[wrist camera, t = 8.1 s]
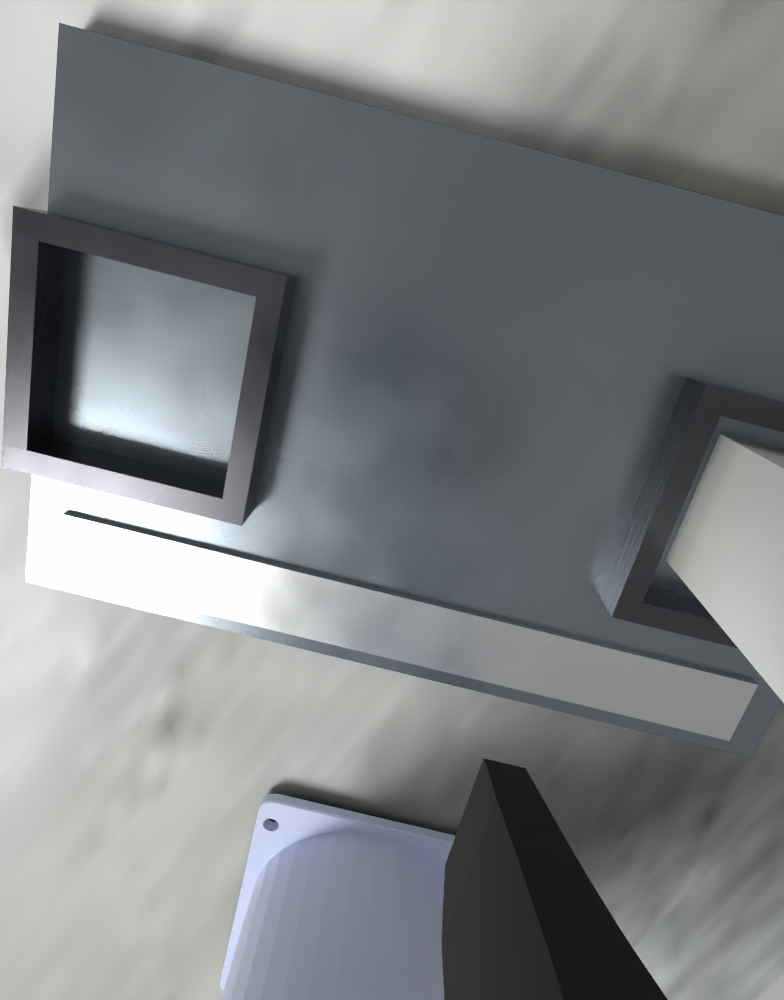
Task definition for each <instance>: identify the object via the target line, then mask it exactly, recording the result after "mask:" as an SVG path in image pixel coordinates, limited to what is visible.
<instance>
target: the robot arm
mask: <svg viewBox="0 0 784 1000" xmlns="http://www.w3.org/2000/svg"><path fill="white" fill-rule="evenodd" d="M268 819H274V820H276V821H277V822H272V821H270V820H268ZM220 987H221V988H222V990H223V995H222V998H221V1000H667V998H666V997H665V995H664V994H663V992H662V991H661V989H660V988H659V986H658V985H657V983H656V982H655V981H654V979H653V978H652V976H651V975H650V973H649V972H648V970H647V969H646V967H645V966H644V964H643V963H642V961H641V960H640V958H639V957H638V956H637V954H636V953H635V951H634V950H633V948H632V947H631V945H630V944H629V942H628V940H627V939H626V937H625V936H624V934H623V933H622V931H621V930H620V928H619V927H618V925H617V923H616V922H615V920H614V919H613V917H612V915H611V914H610V912H609V910H608V909H607V907H606V906H605V904H604V902H603V901H602V899H601V897H600V896H599V894H598V893H597V891H596V889H595V888H594V886H593V884H592V883H591V881H590V880H589V878H588V876H587V875H586V873H585V871H584V870H583V868H582V866H581V864H580V863H579V861H578V859H577V858H576V856H575V854H574V853H573V851H572V849H571V847H570V846H569V844H568V842H567V840H566V839H565V837H564V835H563V833H562V832H561V830H560V828H559V826H558V825H557V823H556V821H555V819H554V818H553V816H552V814H551V812H550V811H549V809H548V807H547V805H546V804H545V802H544V800H543V798H542V796H541V795H540V793H539V791H538V789H537V788H536V786H535V784H534V783H533V781H532V779H531V777H530V776H529V774H528V772H527V770H526V769H525V768H522V767H517V766H513V765H509V764H505V763H501V762H496V761H492V760H488V759H483V761H482V764H481V767H480V770H479V773H478V775H477V778H476V781H475V784H474V786H473V789H472V792H471V795H470V797H469V800H468V803H467V806H466V808H465V811H464V814H463V817H462V820H461V822H460V825H459V828H458V831H457V833H456V836H455V835H451V834H447V833H442V832H438V831H434V830H430V829H425V828H421V827H417V826H413V825H408V824H404V823H400V822H396V821H391V820H387V819H383V818H379V817H374V816H370V815H366V814H362V813H357V812H353V811H349V810H345V809H340V808H336V807H332V806H328V805H323V804H319V803H315V802H311V801H306V800H302V799H298V798H294V797H289V796H285V795H281V794H269V795H267V796H265V797H264V798H263V800H262V802H261V804H260V808H259V811H258V816H257V820H256V825H255V829H254V834H253V838H252V843H251V847H250V852H249V856H248V860H247V865H246V869H245V874H244V878H243V883H242V887H241V892H240V896H239V900H238V905H237V909H236V914H235V918H234V923H233V927H232V932H231V936H230V940H229V945H228V949H227V954H226V958H225V963H224V967H223V972H222V976H221V981H220Z"/></svg>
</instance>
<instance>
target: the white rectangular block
mask: <svg viewBox="0 0 784 1000" xmlns="http://www.w3.org/2000/svg"><path fill="white" fill-rule="evenodd" d="M666 561H667V562H668V564H669V565H670V566H671V567H672V569H673V570H674V571H675V572H676V573H677V575H678V576H679V577H680V578H681V579H682V581H683V582H684V583H685V584H686V585H687V587H688V588H689V589H690V590H691V592H692V593H693V594H694V595H695V596H696V598H697V599H698V600H699V601H700V602H701V604H702V605H703V606H704V607H705V608H706V610H707V611H708V612H709V613H710V615H711V616H712V617H713V618H714V619H715V621H716V622H717V623H718V624H719V625H720V627H721V628H722V629H723V630H724V631H725V633H726V634H727V635H728V636H729V638H730V639H731V640H732V641H733V642H734V644H735V645H736V646H737V647H738V648H739V650H740V651H741V652H742V653H743V655H744V656H745V657H746V658H747V659H748V661H749V662H750V663H751V664H752V665H753V667H754V668H755V669H756V670H757V671H758V673H759V674H760V675H761V676H762V678H763V679H764V680H765V681H766V682H767V684H768V685H769V686H770V687H771V688H772V690H773V691H774V692H775V693H776V694H777V696H778V697H779V698H780V699H781V701H782V702H783V703H784V450H780V449H776V448H772V447H769V446H765V445H761V444H757V443H753V442H749V441H746V440H742V439H738V438H734V437H730V436H727V435H723V434H720V435H719V438H718V440H717V442H716V445H715V447H714V449H713V451H712V454H711V456H710V458H709V461H708V463H707V465H706V468H705V470H704V472H703V475H702V477H701V479H700V482H699V484H698V486H697V489H696V491H695V493H694V496H693V498H692V500H691V502H690V505H689V507H688V509H687V512H686V514H685V516H684V519H683V521H682V523H681V526H680V528H679V530H678V533H677V535H676V537H675V540H674V542H673V544H672V546H671V549H670V551H669V553H668V556H667V558H666Z"/></svg>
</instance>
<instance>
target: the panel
mask: <svg viewBox="0 0 784 1000" xmlns="http://www.w3.org/2000/svg"><path fill="white" fill-rule="evenodd" d="M720 434H723V435H727V436H730V437H734V438H738V439H742V440H746V441H749V442H753V443H757V444H761V445H765V446H769V447H772V448H776V449H780V450H784V216H782V215H778V214H774V213H771V212H767V211H763V210H759V209H756V208H752V207H748V206H744V205H741V204H737V203H733V202H729V201H726V200H722V199H718V198H714V197H710V196H707V195H703V194H699V193H695V192H692V191H688V190H684V189H680V188H677V187H673V186H669V185H665V184H662V183H658V182H654V181H650V180H647V179H643V178H639V177H635V176H632V175H628V174H624V173H620V172H617V171H613V170H609V169H605V168H602V167H598V166H594V165H590V164H587V163H583V162H579V161H575V160H572V159H568V158H564V157H560V156H557V155H553V154H549V153H545V152H542V151H538V150H534V149H530V148H527V147H523V146H519V145H515V144H512V143H508V142H504V141H500V140H497V139H493V138H489V137H485V136H482V135H478V134H474V133H470V132H467V131H463V130H459V129H455V128H452V127H448V126H444V125H440V124H437V123H433V122H429V121H425V120H422V119H418V118H414V117H410V116H407V115H403V114H399V113H395V112H392V111H388V110H384V109H380V108H377V107H373V106H369V105H365V104H362V103H358V102H354V101H350V100H347V99H343V98H339V97H335V96H332V95H328V94H324V93H320V92H317V91H313V90H309V89H305V88H302V87H298V86H294V85H290V84H287V83H283V82H279V81H275V80H272V79H268V78H264V77H260V76H256V75H253V74H249V73H245V72H241V71H238V70H234V69H230V68H226V67H223V66H219V65H215V64H211V63H208V62H204V61H200V60H196V59H193V58H189V57H185V56H181V55H178V54H174V53H170V52H166V51H163V50H159V49H155V48H151V47H148V46H144V45H140V44H136V43H133V42H129V41H125V40H121V39H118V38H114V37H110V36H106V35H103V34H99V33H95V32H91V31H88V30H84V29H80V28H76V27H73V26H69V25H65V24H61V23H59V34H58V51H57V67H56V84H55V100H54V117H53V133H52V150H51V166H50V183H49V199H48V212H47V211H42V210H36V209H30V208H24V207H18V206H13V225H12V248H11V270H10V293H9V316H8V338H7V361H6V383H5V406H4V429H3V451H2V467H4V468H8V469H12V470H16V471H20V472H24V473H28V474H32V479H31V496H30V512H29V529H28V545H27V562H26V578H25V582H28V583H32V584H36V585H41V586H45V587H49V588H53V589H57V590H61V591H65V592H69V593H74V594H78V595H82V596H86V597H90V598H94V599H98V600H103V601H107V602H111V603H115V604H119V605H123V606H127V607H132V608H136V609H140V610H144V611H148V612H152V613H156V614H160V615H165V616H169V617H173V618H177V619H181V620H185V621H189V622H194V623H198V624H202V625H206V626H210V627H214V628H218V629H223V630H227V631H231V632H235V633H239V634H243V635H247V636H251V637H256V638H260V639H264V640H268V641H272V642H276V643H280V644H285V645H289V646H293V647H297V648H301V649H305V650H309V651H313V652H318V653H322V654H326V655H330V656H334V657H338V658H342V659H347V660H351V661H355V662H359V663H363V664H367V665H371V666H376V667H380V668H384V669H388V670H392V671H396V672H400V673H404V674H409V675H413V676H417V677H421V678H425V679H429V680H433V681H438V682H442V683H446V684H450V685H454V686H458V687H462V688H467V689H471V690H475V691H479V692H483V693H487V694H491V695H495V696H500V697H504V698H508V699H512V700H516V701H520V702H524V703H529V704H533V705H537V706H541V707H545V708H549V709H553V710H558V711H562V712H566V713H570V714H574V715H578V716H582V717H586V718H591V719H595V720H599V721H603V722H607V723H611V724H615V725H620V726H624V727H628V728H632V729H636V730H640V731H644V732H648V733H653V734H657V735H661V736H665V737H669V738H673V739H677V740H682V741H686V742H690V743H694V744H698V745H702V746H706V747H711V748H715V749H719V750H723V751H727V752H731V753H735V754H739V755H744V756H748V757H752V756H753V754H754V752H755V750H756V749H757V747H758V745H759V743H760V741H761V739H762V737H763V735H764V734H765V732H766V730H767V728H768V726H769V724H770V722H771V720H772V719H773V717H774V715H775V713H776V711H777V709H778V707H779V705H780V704H781V702H782V701H781V699H780V698H779V697H778V696H777V694H776V693H775V692H774V691H773V690H772V688H771V687H770V686H769V685H768V684H767V682H766V681H765V680H764V679H763V678H762V676H761V675H760V674H759V673H758V671H757V670H756V669H755V668H754V667H753V665H752V664H751V663H750V662H749V661H748V659H747V658H746V657H745V656H744V655H743V653H742V652H741V651H740V650H739V648H738V647H737V646H736V645H735V644H734V642H733V641H732V640H731V639H730V638H729V636H728V635H727V634H726V633H725V631H724V630H723V629H722V628H721V627H720V625H719V624H718V623H717V622H716V621H715V619H714V618H713V617H712V616H711V615H710V613H709V612H708V611H707V610H706V608H705V607H704V606H703V605H702V604H701V602H700V601H699V600H698V599H697V598H696V596H695V595H694V594H693V593H692V592H691V590H690V589H689V588H688V587H687V585H686V584H685V583H684V582H683V581H682V579H681V578H680V577H679V576H678V575H677V573H676V572H675V571H674V570H673V569H672V567H671V566H670V565H669V564H668V562H667V561H666V558H667V556H668V553H669V551H670V549H671V546H672V544H673V542H674V540H675V537H676V535H677V533H678V530H679V528H680V526H681V523H682V521H683V519H684V516H685V514H686V512H687V509H688V507H689V505H690V502H691V500H692V498H693V496H694V493H695V491H696V489H697V486H698V484H699V482H700V479H701V477H702V475H703V472H704V470H705V468H706V465H707V463H708V461H709V458H710V456H711V454H712V451H713V449H714V447H715V445H716V442H717V440H718V438H719V435H720Z"/></svg>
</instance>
